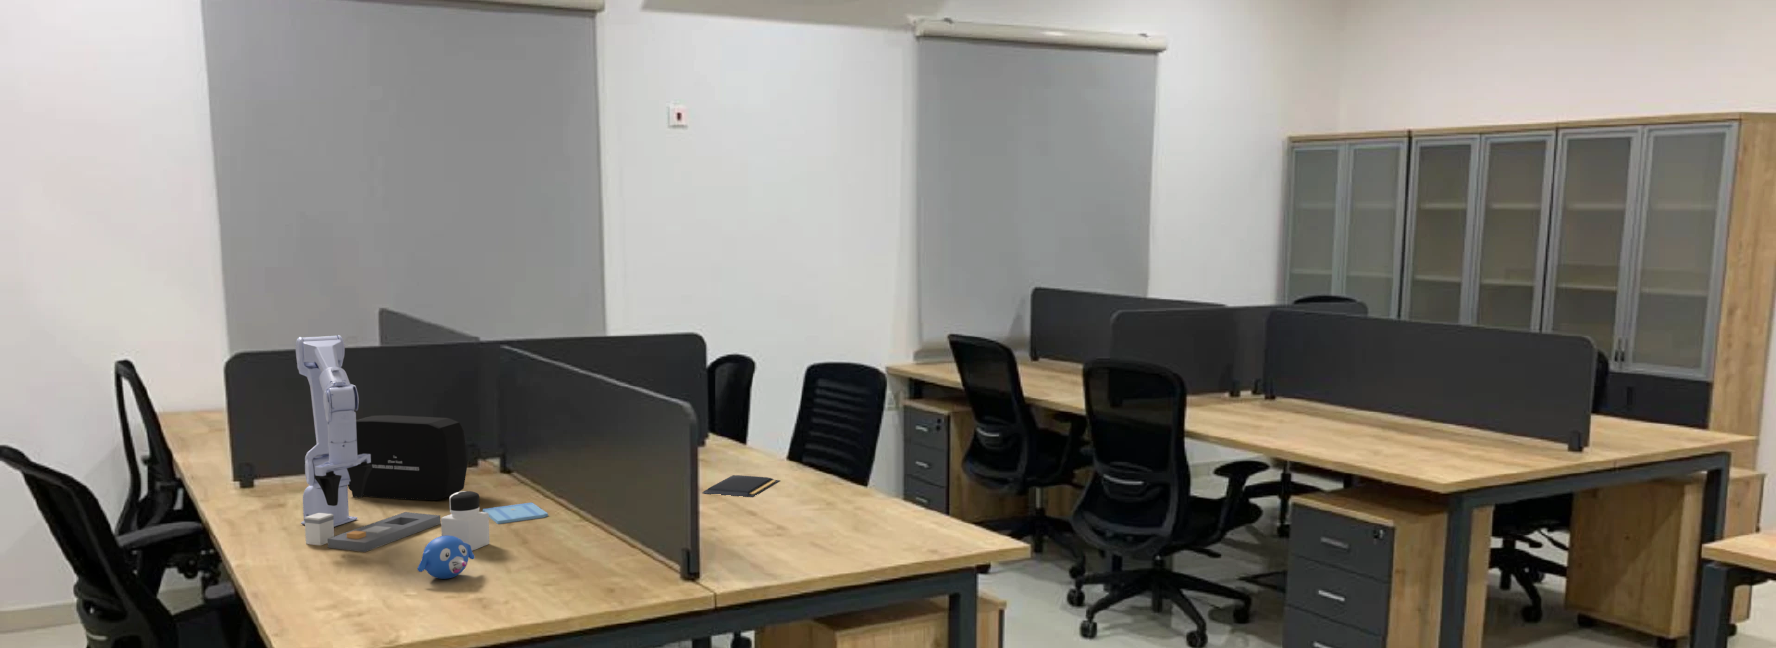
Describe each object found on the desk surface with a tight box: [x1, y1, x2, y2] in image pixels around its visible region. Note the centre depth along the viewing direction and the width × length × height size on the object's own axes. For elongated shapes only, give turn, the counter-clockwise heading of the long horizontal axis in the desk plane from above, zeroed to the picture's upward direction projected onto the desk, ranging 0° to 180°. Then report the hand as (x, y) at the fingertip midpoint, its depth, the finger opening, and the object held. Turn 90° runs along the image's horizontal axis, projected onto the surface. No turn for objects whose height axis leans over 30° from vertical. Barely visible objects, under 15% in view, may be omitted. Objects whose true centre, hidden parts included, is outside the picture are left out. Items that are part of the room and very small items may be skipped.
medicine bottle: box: [440, 490, 490, 552], centre depth 253 cm, size 7×7×12 cm
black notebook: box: [701, 474, 781, 498], centre depth 310 cm, size 20×2×15 cm
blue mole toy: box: [417, 535, 476, 580], centre depth 231 cm, size 12×12×8 cm
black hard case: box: [347, 414, 469, 501], centre depth 301 cm, size 30×12×20 cm, turn 76°
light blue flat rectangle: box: [482, 502, 549, 525], centre depth 282 cm, size 14×12×1 cm
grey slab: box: [327, 511, 441, 553], centre depth 263 cm, size 24×10×3 cm, turn 162°
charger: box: [303, 513, 335, 546], centre depth 257 cm, size 4×4×6 cm
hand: (345, 501), depth 259 cm, fingers open, 7 cm apart
